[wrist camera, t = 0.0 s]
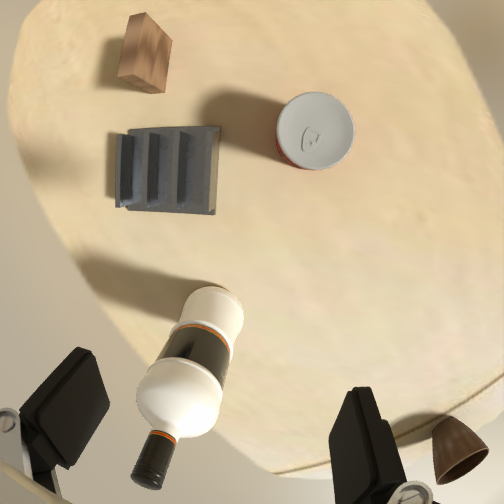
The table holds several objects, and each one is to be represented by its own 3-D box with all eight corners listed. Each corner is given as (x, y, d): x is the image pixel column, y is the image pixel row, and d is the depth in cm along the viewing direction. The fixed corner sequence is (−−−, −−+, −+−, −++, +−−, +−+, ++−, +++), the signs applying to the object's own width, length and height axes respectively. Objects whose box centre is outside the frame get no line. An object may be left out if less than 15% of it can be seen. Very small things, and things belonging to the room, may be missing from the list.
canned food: (272, 164, 36) (271, 163, 26) (280, 107, 34) (281, 84, 23) (328, 174, 36) (349, 177, 25) (336, 117, 33) (359, 100, 23)
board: (159, 42, 32) (129, 15, 22) (172, 40, 31) (145, 12, 22) (151, 93, 34) (117, 76, 25) (165, 92, 34) (133, 74, 24)
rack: (132, 130, 36) (117, 127, 32) (220, 127, 35) (213, 122, 31) (130, 209, 39) (115, 214, 35) (215, 214, 39) (208, 219, 35)
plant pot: (424, 420, 49) (444, 468, 33) (472, 398, 46) (497, 439, 31) (416, 448, 52) (431, 491, 37) (460, 429, 50) (478, 467, 35)
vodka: (224, 273, 41) (142, 451, 12) (255, 322, 43) (227, 508, 14) (175, 298, 43) (72, 451, 14) (207, 343, 45) (147, 505, 16)
